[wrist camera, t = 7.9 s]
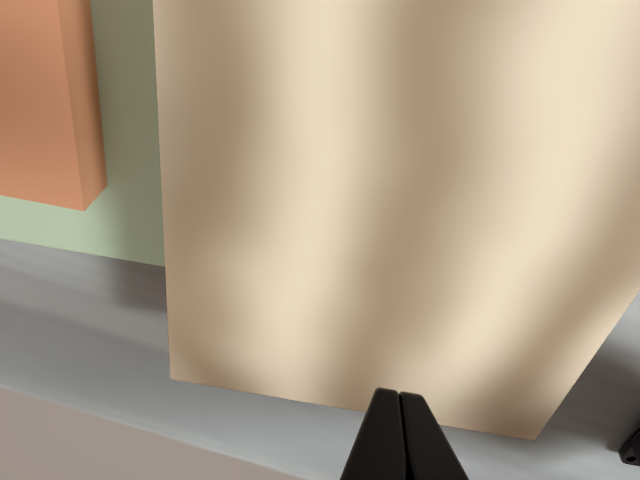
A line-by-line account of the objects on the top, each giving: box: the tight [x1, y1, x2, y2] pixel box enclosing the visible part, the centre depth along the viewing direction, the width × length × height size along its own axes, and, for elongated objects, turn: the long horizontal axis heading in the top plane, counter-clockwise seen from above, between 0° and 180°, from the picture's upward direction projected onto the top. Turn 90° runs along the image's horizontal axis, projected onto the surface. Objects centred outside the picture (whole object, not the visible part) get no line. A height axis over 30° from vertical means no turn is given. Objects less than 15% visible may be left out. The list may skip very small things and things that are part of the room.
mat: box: [0, 0, 165, 267], centre depth 19 cm, size 14×14×1 cm
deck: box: [153, 0, 640, 441], centre depth 17 cm, size 16×22×4 cm
